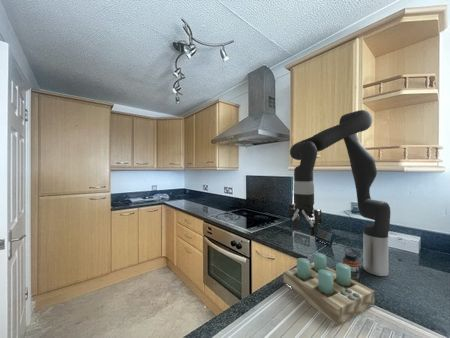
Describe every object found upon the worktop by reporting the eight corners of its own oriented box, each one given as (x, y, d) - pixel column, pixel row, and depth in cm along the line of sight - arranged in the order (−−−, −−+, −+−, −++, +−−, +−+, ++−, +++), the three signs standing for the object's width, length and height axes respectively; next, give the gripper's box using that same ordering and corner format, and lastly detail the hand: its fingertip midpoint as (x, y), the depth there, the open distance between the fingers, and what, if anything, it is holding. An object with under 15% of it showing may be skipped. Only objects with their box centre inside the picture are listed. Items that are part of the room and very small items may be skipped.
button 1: (302, 271, 81) (302, 257, 81) (312, 276, 77) (312, 262, 77) (294, 273, 79) (294, 259, 79) (303, 280, 75) (303, 264, 75)
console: (316, 271, 90) (316, 260, 90) (374, 304, 68) (374, 289, 68) (283, 283, 81) (283, 271, 81) (338, 325, 60) (338, 308, 60)
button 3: (324, 283, 72) (324, 268, 72) (336, 291, 68) (336, 274, 68) (315, 287, 70) (315, 271, 70) (327, 295, 66) (327, 278, 66)
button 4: (341, 276, 77) (341, 262, 77) (353, 283, 72) (353, 267, 72) (333, 280, 75) (333, 264, 75) (345, 287, 70) (345, 270, 70)
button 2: (319, 265, 86) (319, 252, 86) (329, 270, 81) (329, 256, 81) (311, 268, 84) (311, 254, 84) (321, 273, 79) (321, 259, 79)
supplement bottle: (344, 274, 88) (343, 249, 88) (359, 279, 84) (359, 253, 84) (341, 280, 83) (341, 254, 83) (358, 285, 79) (358, 258, 79)
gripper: (326, 193, 72) (326, 236, 72) (296, 189, 85) (297, 226, 85) (312, 195, 69) (313, 240, 69) (283, 191, 82) (284, 229, 82)
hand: (304, 232), depth 77 cm, fingers open, 8 cm apart
